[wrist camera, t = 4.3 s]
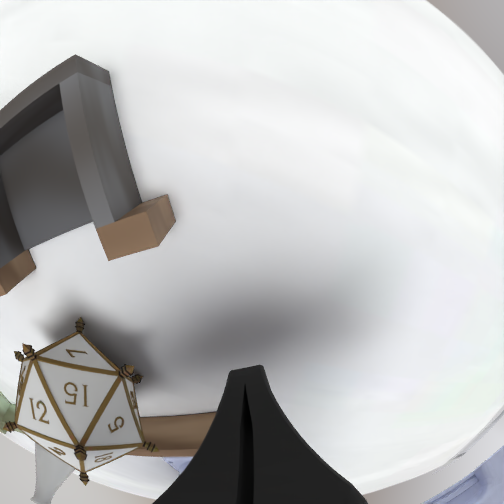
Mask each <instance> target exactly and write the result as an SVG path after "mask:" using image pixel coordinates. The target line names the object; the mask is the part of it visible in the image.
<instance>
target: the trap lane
mask: <svg viewBox="0 0 504 504" xmlns="http://www.w3.org/2000/svg"><path fill="white" fill-rule="evenodd" d="M90 222H94V225H95V228H96V231H97V233H98V236H99V238H100V241H101V244H102V246H103V249H104V251H105V253H106V256H107V258H108V261H110V260H113V259H116V258H120V257H123V256H126V255H130V254H133V253H137V252H140V251H144V250H147V249H150V248H154V247H157V246H159V245H160V243H161V242H162V240H163V239H164V237H165V236H166V234H167V233H168V232H169V230H170V229H171V227H172V226H173V225H174V223H175V222H176V220H175V217H174V214H173V211H172V208H171V205H170V201H169V198H168V195H164V196H161V197H158V198H155V199H152V200H149V201H146V202H143V203H142V202H141V198H140V195H139V192H138V189H137V186H136V182H135V179H134V176H133V172H132V169H131V165H130V162H129V158H128V155H127V151H126V147H125V143H124V140H123V136H122V132H121V128H120V123H119V119H118V115H117V110H116V106H115V101H114V97H113V92H112V87H111V81H110V76H109V71H107V70H105V69H103V68H101V67H99V66H97V65H95V64H93V63H92V62H90V61H88V60H86V59H84V58H82V57H80V56H77V55H74V56H72V57H70V58H69V59H67V60H65V61H64V62H62V63H61V64H59V65H58V66H56V67H55V68H53V69H52V70H50V71H49V72H47V73H46V74H44V75H43V76H42V77H40V78H39V79H38V80H36V81H35V82H34V83H32V84H31V85H30V86H28V87H27V88H26V89H25V90H23V91H22V92H21V93H20V94H18V95H17V96H16V97H15V98H14V99H12V100H11V101H10V102H9V103H8V104H7V105H6V106H5V107H3V108H2V109H1V110H0V296H3V295H5V294H7V293H8V292H9V291H10V290H11V289H12V288H14V287H15V286H16V285H17V284H18V283H19V282H20V281H22V280H23V279H24V278H25V277H26V276H27V275H29V274H30V273H31V272H32V271H34V270H35V269H36V267H35V264H34V262H33V260H32V257H31V255H30V253H29V250H28V249H30V248H32V247H34V246H36V245H39V244H41V243H43V242H45V241H47V240H50V239H52V238H54V237H56V236H59V235H61V234H63V233H66V232H68V231H71V230H73V229H75V228H78V227H80V226H83V225H85V224H88V223H90ZM15 407H16V405H13V404H10V402H9V401H8V400H7V399H6V398H5V397H4V396H3V394H2V393H1V392H0V431H1V432H2V433H4V434H6V432H7V431H6V430H3V427H4V425H5V423H7V422H9V421H10V422H14V421H15ZM215 415H216V412H212V413H203V414H194V415H182V416H167V417H140V421H141V426H142V431H143V435H144V439H145V441H146V442H149V443H150V442H151V443H152V444H155V445H156V447H157V448H158V449H159V451H160V452H152V453H151V451H149V450H147V449H146V448H145V447H140V448H138V449H136V450H134V451H132V452H130V453H128V454H126V455H135V456H153V457H193V456H194V455H195V453H196V452H197V450H198V449H199V447H200V445H201V444H202V442H203V440H204V438H205V436H206V434H207V432H208V430H209V428H210V426H211V424H212V421H213V419H214V417H215ZM14 431H17V432H20V433H23V432H22V431H21V430H19V429H18V428H16V429H15V430H14ZM23 434H24V433H23Z"/></svg>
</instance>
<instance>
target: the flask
mask: <svg viewBox="0 0 504 504" xmlns="http://www.w3.org/2000/svg"><path fill="white" fill-rule="evenodd" d="M35 456H36V489H35V494H34V497H32V498H31V500H32V501H33V502H35V503H37V504H51V500H52V498H53V496H54V494H55V492H56V491H57V490H58V488H59V487H60V486H61V485H62V483H63V482H64V481H65V480H66V479H67V478H68V477H69V476H70V475H71V473H72V472H73V471H74V470H75V468H73V467H71V466H70V465H68V464H66V463H65V462H63V461H62V460H60V459H59V458H57V457H56V456H54V455H53V454H51V453H50V452H48V451H47V450H45V449H44V448H43V447H41V446H40V445H39V444H37V443H36V442H35Z"/></svg>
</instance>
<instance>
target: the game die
mask: <svg viewBox="0 0 504 504" xmlns="http://www.w3.org/2000/svg"><path fill="white" fill-rule="evenodd" d="M75 323H76V326H75V327H76V330H77V331H76V332H75V333H73V334H71V335H69V336H67V337H65V338H63V339H61V340H59V341H57V342H55V343H53V344H51V345H49V346H47V347H45V348H43V349H41V350H39V351H37V352H34V351H35V350H34V349H32V345H26V344H23V343H22V344H23V352H24V354H25V355H26V356H27V357H25V358H24V355H23V354H21V352H19V351H18V352H17V351H14V353H15V357H16V359H18V361H21V362H22V364H21V370H20V376H19V382H18V389H17V398H16V407H15V421H14V422H10V421H9V422H7V423H5V425H4V427H3V430H6V431H9V432H10V433H11V431H14V430H15V429H16V428H18V429H19V430H21V431H22V432H23V433H24V434H26V435H27V436H28V437H29V438H31V439H32V440H33V441H35V442H36V443H37V444H39V445H40V446H41V447H43V448H44V449H45V450H47V451H48V452H50V453H51V454H53V455H54V456H56V457H57V458H59V459H60V460H62V461H63V462H65V463H66V464H68V465H70V466H71V467H73V468H75V469H76V470H78V471H80V475H79V476H80V480H81V481H82V482H83V483H84V484H85V485H86V484H87V482H88V481H89V479H88V477H89V476H87V474H86V472H88V471H91V470H93V469H95V468H98V467H100V466H102V465H105V464H107V463H109V462H111V461H114V460H116V459H118V458H120V457H122V456H124V455H126V454H128V453H130V452H132V451H134V450H136V449H138V448H140V447H145V448H146V449H147V450H149V451H151V453H152V452H160V451H159V449H158V448H157V447H156V445H155V444H152V443H151V442H150V443H149V442H146V441H145V439H144V435H143V431H142V426H141V421H140V416H139V411H138V406H137V401H136V395H135V389H134V383H136V384H137V383H138V382H139V383H140V382H141V379H142V377H143V376H140V375H135V376H132V378H130V377H129V375H130V376H131V375H132V374H133V373H134V371H133V370H134V366H130V365H126V364H124V367H121V370H120V369H119V368H118V367H117V366H116V365H115V364H114V363H113V362H111V361H110V360H109V359H108V358H107V357H106V356H105V355H104V354H103V353H102V352H101V351H100V350H99V349H98V348H96V347H95V346H94V345H93V344H92V343H91V342H90V341H89V340H88V339H87V338H86V337H85V336H84V335H83V334H82V330H83V329H84V328H83V327H84V325H85V324H84V323H83V321H82V318H81V317H80V319H79V320H78V321H77V322H75Z"/></svg>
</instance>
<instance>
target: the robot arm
mask: <svg viewBox="0 0 504 504" xmlns="http://www.w3.org/2000/svg"><path fill="white" fill-rule="evenodd" d="M163 460H164V461H166V462H167V463H168V464H169V465H171V466H172V467H173V468H174V469H176V470H177V471H178V472H179V477H178V478H177V479H176V480H175V481H174V483H173V484H172V485H171V486H170V487H169V488H168V489H167V490H166V491H165V492H164V493H163V494H162V495H161V496H160V497H159V498H158V499H157V500H156V501H155V502H154V503H153V504H368V503H367V501H366V500H365V498H364V497H363V496H362V495H361V494H360V493H359V491H358V490H357V489H356V488H355V487H354V486H353V485H352V484H351V483H350V482H349V481H347V480H346V479H345V478H343V477H342V476H341V475H340V474H338V473H337V472H336V471H335V470H334V469H333V468H331V467H330V466H329V465H328V464H327V463H326V462H325V461H324V460H323V459H322V458H321V457H320V456H319V455H318V454H317V453H316V452H315V451H314V450H313V449H312V448H311V447H310V446H309V445H308V444H307V443H306V442H305V440H304V439H303V438H302V437H301V436H300V434H299V433H298V432H297V431H296V429H295V428H294V427H293V425H292V424H291V423H290V421H289V420H288V418H287V417H286V415H285V414H284V412H283V411H282V409H281V408H280V406H279V404H278V402H277V401H276V399H275V397H274V395H273V393H272V391H271V389H270V386H269V382H268V379H267V376H266V373H265V370H264V367H263V366H262V365H256V366H252V367H247V368H242V369H237V370H231V371H230V372H229V375H228V379H227V383H226V387H225V390H224V393H223V396H222V399H221V402H220V404H219V407H218V410H217V412H216V415H215V417H214V419H213V421H212V424H211V426H210V428H209V430H208V432H207V434H206V436H205V438H204V440H203V442H202V444H201V445H200V447H199V449H198V450H197V452H196V453H195V455H194V456H193V457H163ZM421 504H504V446H502V447H501V448H500V449H499V450H498V451H497V452H496V453H494V454H493V455H492V456H491V457H489V458H488V459H487V460H486V461H484V462H483V463H482V464H481V465H480V466H478V467H477V468H476V469H475V470H474V471H473V472H472V473H470V474H469V475H467V476H466V477H465V478H463V479H462V480H460V481H459V482H457V483H456V484H454V485H453V486H451V487H449V488H448V489H446V490H444V491H443V492H441V493H439V494H438V495H436V496H434V497H432V498H431V499H429V500H427V501H425V502H424V503H421Z"/></svg>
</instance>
